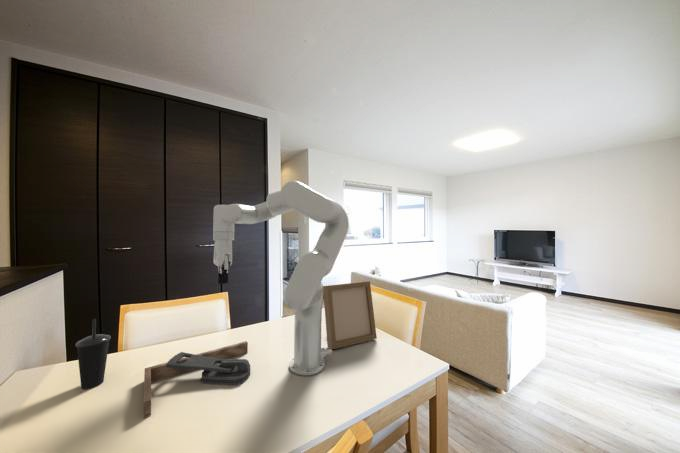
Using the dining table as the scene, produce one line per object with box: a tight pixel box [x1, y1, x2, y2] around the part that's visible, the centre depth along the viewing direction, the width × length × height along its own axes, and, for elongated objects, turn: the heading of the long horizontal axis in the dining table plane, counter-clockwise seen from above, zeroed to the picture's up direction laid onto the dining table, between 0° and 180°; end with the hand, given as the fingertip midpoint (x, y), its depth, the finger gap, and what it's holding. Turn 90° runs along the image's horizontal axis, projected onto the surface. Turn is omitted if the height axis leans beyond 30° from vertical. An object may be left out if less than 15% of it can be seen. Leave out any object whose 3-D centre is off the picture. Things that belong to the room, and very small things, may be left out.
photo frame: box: [323, 280, 378, 350], centre depth 109 cm, size 15×22×25 cm
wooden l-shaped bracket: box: [143, 341, 249, 419], centre depth 79 cm, size 32×19×4 cm, turn 128°
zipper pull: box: [166, 351, 251, 386], centre depth 80 cm, size 9×7×25 cm
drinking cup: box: [75, 318, 112, 390], centre depth 75 cm, size 8×8×20 cm
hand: (222, 283), depth 95 cm, fingers closed
